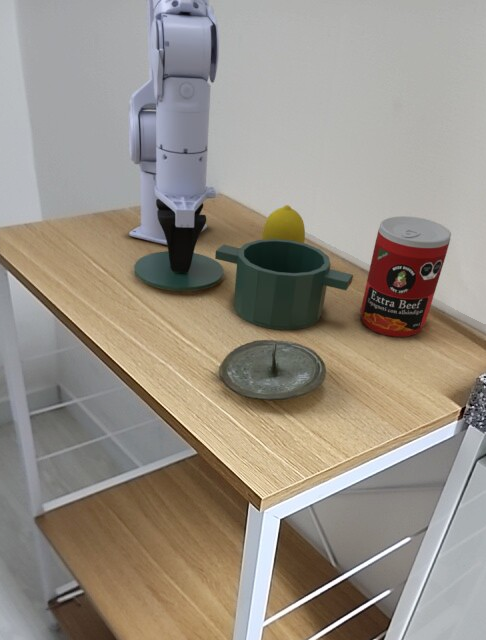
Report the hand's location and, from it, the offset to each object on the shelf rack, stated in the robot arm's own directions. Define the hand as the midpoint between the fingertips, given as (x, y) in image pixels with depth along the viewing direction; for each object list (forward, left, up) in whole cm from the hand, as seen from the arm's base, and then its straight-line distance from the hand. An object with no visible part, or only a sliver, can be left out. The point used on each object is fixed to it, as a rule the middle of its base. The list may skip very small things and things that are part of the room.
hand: (179, 265), depth 80 cm
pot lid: (0, 0, -1) cm, 1 cm away
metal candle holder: (+18, +19, -2) cm, 26 cm away
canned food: (-2, +27, -2) cm, 27 cm away
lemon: (-10, +10, -2) cm, 14 cm away
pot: (+2, +14, -1) cm, 14 cm away
